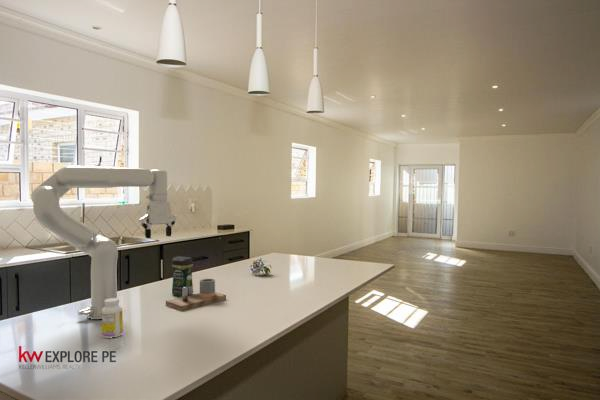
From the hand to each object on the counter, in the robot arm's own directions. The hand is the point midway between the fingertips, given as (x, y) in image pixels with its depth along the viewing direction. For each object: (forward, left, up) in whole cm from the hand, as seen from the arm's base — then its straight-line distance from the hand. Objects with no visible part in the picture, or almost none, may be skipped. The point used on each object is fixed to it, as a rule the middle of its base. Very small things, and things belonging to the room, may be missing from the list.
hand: (158, 237), depth 180 cm
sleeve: (+20, -8, -28) cm, 35 cm away
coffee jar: (+17, +8, -31) cm, 36 cm away
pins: (+14, -8, -28) cm, 32 cm away
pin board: (+14, -8, -30) cm, 34 cm away
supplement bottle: (-30, -21, -31) cm, 48 cm away
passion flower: (+73, +13, -31) cm, 80 cm away
